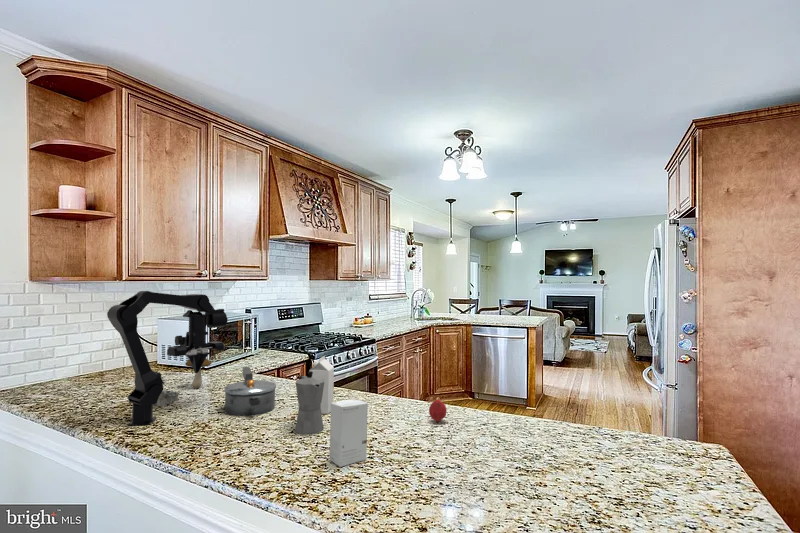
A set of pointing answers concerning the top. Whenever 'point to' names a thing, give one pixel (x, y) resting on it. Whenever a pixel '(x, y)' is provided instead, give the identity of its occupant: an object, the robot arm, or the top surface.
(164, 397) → the egg carton
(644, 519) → the top surface
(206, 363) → the mushroom
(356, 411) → the skincare box
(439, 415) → the onion
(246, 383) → the pot lid
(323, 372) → the milk carton
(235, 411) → the cooking pot
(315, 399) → the coffeepot
